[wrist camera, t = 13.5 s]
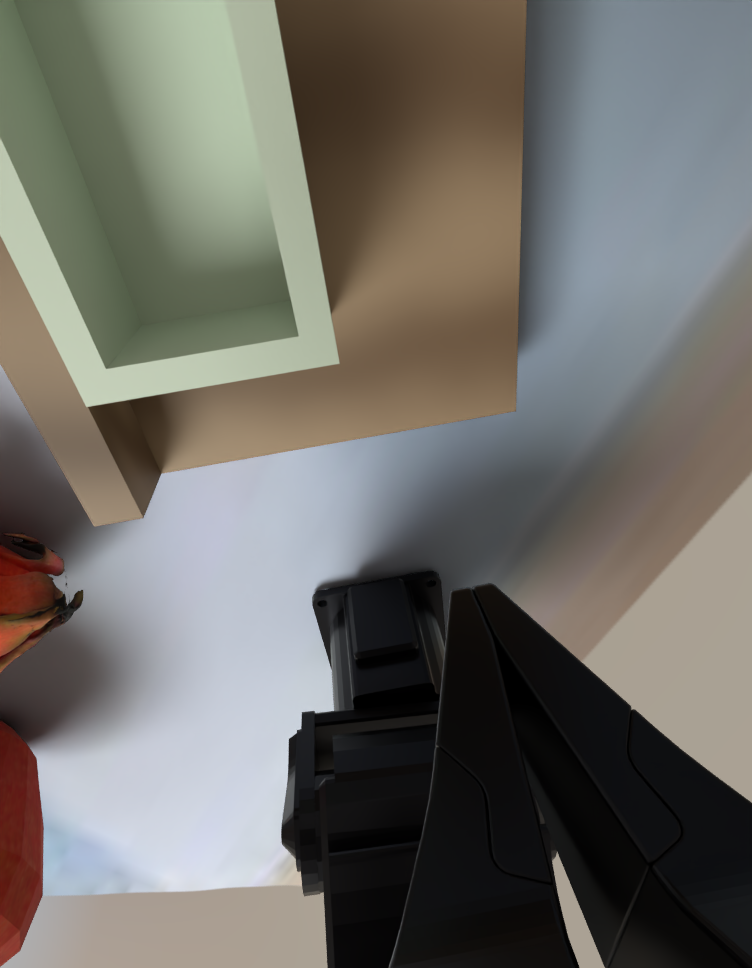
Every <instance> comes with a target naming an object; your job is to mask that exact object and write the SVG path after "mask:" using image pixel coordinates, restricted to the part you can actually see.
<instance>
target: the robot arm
mask: <svg viewBox="0 0 752 968" xmlns="http://www.w3.org/2000/svg"><path fill="white" fill-rule="evenodd" d="M430 580H433V581H430ZM428 581H430V582H428ZM320 600H325V601H320ZM312 603H313V609H314V612H315V615H316V619H317V622H318V626H319V629H320V632H321V636H322V639H323V642H324V646H325V649H326V653H327V656H328V659H329V663H330V666H331V669H332V682H333V700H334V711H330V712H321V713H315V711H310V712H302V727H301V729H300V730H297V734H295V735H294V736H293V737H291V738H290V739H289V764H288V782H287V790H286V797H285V805H284V812H283V820H282V829H281V838H282V845H283V846H284V847H285V848H286V849H287V850H288V851H289V852H290V853H291V854H292V855H293V856H294V858H295V859H296V867H297V871H298V872H300V871H301V877H302V887H303V894H304V896H309V895H316V894H320V893H322V892H324V905H325V923H326V924H325V925H326V944H327V963H328V968H579V965H578V962H577V960H576V957H575V954H574V952H573V949H572V946H571V943H570V941H569V938H568V934H567V931H566V926H565V922H564V918H563V914H562V910H561V906H560V901H559V897H558V893H557V887H556V882H555V876H554V870H553V864H552V860H553V859H554V858H555V857H556V853H557V852H558V854H559V857H560V859H561V862H562V864H563V866H564V869H565V871H566V874H567V876H568V879H569V881H570V884H571V886H572V888H573V891H574V893H575V896H576V898H577V901H578V903H579V905H580V908H581V910H582V913H583V915H584V918H585V920H586V923H587V925H588V928H589V930H590V932H591V935H592V937H593V940H594V942H595V945H596V947H597V949H598V952H599V954H600V957H601V959H602V962H603V964H604V966H605V968H752V803H751V802H750V801H749V800H747V799H746V798H745V797H743V796H742V795H741V794H739V793H738V792H737V791H735V790H734V789H733V788H731V787H730V786H729V785H727V784H726V783H724V782H723V781H722V780H720V779H719V778H718V777H716V776H715V775H714V774H712V773H711V772H710V771H708V770H707V769H706V768H705V767H703V766H702V765H701V764H699V763H698V762H697V761H696V760H694V759H693V758H692V757H690V756H689V755H688V754H686V753H685V752H684V751H682V750H681V749H680V748H679V747H678V746H677V745H675V744H674V743H673V742H672V741H671V740H669V739H668V738H667V737H666V736H664V734H662V733H661V732H660V731H659V730H658V729H656V728H655V727H654V726H653V725H652V724H651V723H649V722H648V721H647V720H646V719H645V718H644V717H643V716H642V715H641V714H640V713H638V712H637V711H636V710H634V709H633V710H631V706H630V705H629V704H628V703H627V702H626V701H625V700H623V699H622V698H621V697H620V696H619V695H618V694H617V693H616V692H615V691H613V690H612V689H611V688H610V687H609V686H608V685H607V684H606V683H604V682H603V681H602V680H601V679H600V678H599V677H598V676H596V675H595V674H594V673H593V672H592V671H591V670H590V669H589V668H588V667H586V666H585V665H584V664H583V663H582V662H581V661H580V660H579V659H577V658H576V657H575V656H574V655H573V654H572V653H571V652H570V651H568V650H567V649H566V648H565V647H564V646H563V645H562V644H561V643H559V642H558V641H557V640H556V639H555V638H554V637H553V636H551V635H550V634H549V633H548V632H547V631H546V630H545V629H544V628H542V627H541V626H540V625H539V624H538V623H537V622H536V621H535V620H533V619H532V618H531V617H530V616H529V615H528V614H527V613H526V612H524V611H523V610H522V609H521V608H520V607H519V606H518V605H517V604H515V603H514V602H513V601H512V600H511V599H510V598H509V597H508V596H506V595H505V594H504V593H503V592H502V591H501V590H500V589H499V588H497V587H496V586H495V585H494V584H491V583H488V584H482V585H477V586H474V587H473V588H472V589H471V588H469V587H466V588H461V589H456V590H452V591H451V592H450V599H449V609H448V620H447V630H446V636H445V624H444V612H443V600H442V589H441V581H440V577H439V574H438V573H437V572H435V571H426V572H421V573H415V574H410V575H404V576H399V577H393V578H388V579H382V580H377V581H371V582H366V583H360V584H355V585H349V586H344V587H339V588H333V589H328V590H322V591H318V592H316V593H315V594H314V595H313V597H312Z"/></svg>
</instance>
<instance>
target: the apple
mask: <svg viewBox="0 0 752 968" xmlns="http://www.w3.org/2000/svg"><path fill="white" fill-rule="evenodd" d="M43 830H44V827H43V818H42V809H41V800H40V791H39V781H38V770H37V760H36V757H35V755H34V754H33V752H32V751H31V749H30V748H29V746H28V745H27V744H26V743H25V742H24V741H23V740H22V739H21V737H20V736H19V735H18V734H17V733H16V732H15V731H14V730H13V729H12V728H11V727H10V726H8V725H7V724H5V723H4V722H2V721H0V966H2V965H3V964H4V963H5V962H7V961H8V960H9V959H10V958H11V957H13V956H14V955H15V954H17V953H18V952H19V951H20V950H21V947H22V945H23V942H24V940H25V937H26V935H27V932H28V930H29V927H30V925H31V922H32V920H33V918H34V915H35V913H36V910H37V908H38V905H39V903H40V900H41V898H42V895H43Z"/></svg>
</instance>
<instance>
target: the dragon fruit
mask: <svg viewBox="0 0 752 968" xmlns="http://www.w3.org/2000/svg"><path fill="white" fill-rule="evenodd" d="M2 534H4V535H5V536H10V537H13V540H12V541H11V542H12V544H14V545H16V546H19V547H22V548H24V549H27V550H30V551H33V552H36V553H39V554H42V555H43V558H42V559H39V560H28V559H26V558H24V557H22V556H20V555H18V554H17V553H15V552H13V551H11V550H10V549H9V548H7V547H4V546H1V545H0V673H1V672H2V671H3V670H4V669H5V668H6V667H7V666H8V665H9V664H10V663H11V662H12V661H13V660H14V659H16V658H17V657H20V656H21V655H22V654H23V653H24V652H26V651H27V650H28V649H30V648H32V647H33V646H35V645H36V644H37V643H38V642H39V641H40V639H41V638H43V637H44V635H45V634H46V633H48V632H51V630H53V629H54V628H56V627H58V626H60V625H62V624H65V623H66V622H67V621H68V620H69V619H70V618H71V616H72V615H73V613H74V611H76V610H77V609H78V608H79V607H80V606H81V604H82V601H83V590H81V591H78V592H77V593H76V594H75V596H74V599H73V600H72V601H71V602H70V599H69V602H70V603H69V604H68V606H67V603H66V597H65V594H63V592H62V591H60V590H59V589H58V588H57V587H56V586H55V584H54V583H53V578H52V577H49V576H48V575H47V574H51V575H54V576H58V575H61V574H62V573H63V571H64V561H63V559H61V558H60V557H58V556H57V555H55V554H54V553H53V552H54V551H53V550H51V551H50V550H49V549H48V548H47V547H46V546H45V545H43V544H40V543H39V541H38V540H37V539H35V538H33V537H28V536H25V535H24V534H22V533H21V534H15V533H8V534H7V533H2ZM14 537H15V538H20V539H22V540H23V541H22V542H18V541H14ZM56 553H57V552H56ZM65 577H66V576H65ZM66 585H67V583H66ZM67 588H68V587H67ZM69 597H70V596H69Z"/></svg>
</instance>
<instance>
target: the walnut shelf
mask: <svg viewBox="0 0 752 968" xmlns="http://www.w3.org/2000/svg"><path fill="white" fill-rule="evenodd" d="M275 4H276V9H277V15H278V20H279V26H280V32H281V37H282V43H283V48H284V54H285V59H286V65H287V70H288V76H289V82H290V87H291V93H292V98H293V104H294V109H295V115H296V121H297V126H298V132H299V137H300V143H301V148H302V154H303V160H304V165H305V171H306V176H307V182H308V187H309V193H310V199H311V204H312V210H313V215H314V221H315V226H316V232H317V238H318V243H319V249H320V254H321V260H322V265H323V271H324V277H325V282H326V288H327V293H328V299H329V304H330V310H331V316H332V322H333V327H334V333H335V339H336V345H337V351H338V357H339V363H340V364H334V365H329V366H323V367H317V368H311V369H305V370H300V371H294V372H288V373H282V374H276V375H270V376H265V377H259V378H253V379H247V380H241V381H235V382H230V383H224V384H218V385H212V386H206V387H201V388H195V389H189V390H183V391H177V392H171V393H166V394H160V395H154V396H148V397H142V398H136V399H131V400H125V401H119V402H113V403H107V404H101V405H96V406H90V407H86V405H85V403H84V401H83V399H82V397H81V395H80V393H79V391H78V389H77V387H76V385H75V383H74V381H73V379H72V377H71V375H70V373H69V371H68V369H67V367H66V365H65V363H64V361H63V359H62V357H61V355H60V353H59V351H58V349H57V347H56V345H55V343H54V341H53V339H52V337H51V335H50V333H49V331H48V329H47V327H46V325H45V323H44V321H43V319H42V317H41V315H40V313H39V311H38V310H37V308H36V306H35V304H34V302H33V300H32V298H31V296H30V294H29V292H28V290H27V288H26V286H25V284H24V282H23V280H22V278H21V276H20V274H19V272H18V270H17V268H16V266H15V264H14V262H13V260H12V258H11V256H10V254H9V252H8V250H7V248H6V246H5V244H4V242H3V240H2V238H1V236H0V364H1V366H2V368H3V369H4V371H5V373H6V375H7V376H8V378H9V380H10V382H11V383H12V385H13V387H14V389H15V390H16V392H17V394H18V395H19V397H20V399H21V401H22V402H23V404H24V406H25V408H26V409H27V411H28V413H29V415H30V416H31V418H32V420H33V421H34V423H35V425H36V427H37V428H38V430H39V432H40V434H41V435H42V437H43V439H44V441H45V442H46V444H47V446H48V447H49V449H50V451H51V453H52V454H53V456H54V458H55V460H56V461H57V463H58V465H59V467H60V468H61V470H62V472H63V473H64V475H65V477H66V479H67V480H68V482H69V484H70V486H71V487H72V489H73V491H74V493H75V494H76V496H77V498H78V499H79V501H80V503H81V505H82V506H83V508H84V510H85V512H86V513H87V515H88V517H89V519H90V520H91V522H92V524H93V525H94V527H96V526H101V525H107V524H112V523H118V522H124V521H129V520H135V519H140V518H143V517H144V515H145V513H146V510H147V508H148V505H149V503H150V500H151V498H152V495H153V493H154V490H155V488H156V485H157V483H158V480H159V478H160V475H161V474H162V473H167V472H173V471H179V470H184V469H190V468H196V467H201V466H207V465H213V464H218V463H224V462H230V461H235V460H241V459H247V458H252V457H258V456H264V455H270V454H275V453H281V452H287V451H292V450H298V449H304V448H309V447H315V446H321V445H326V444H332V443H338V442H343V441H349V440H355V439H360V438H366V437H372V436H377V435H383V434H389V433H394V432H400V431H406V430H412V429H417V428H423V427H429V426H434V425H440V424H446V423H451V422H457V421H463V420H468V419H474V418H480V417H485V416H491V415H497V414H502V413H508V412H514V411H516V388H517V350H518V312H519V274H520V236H521V198H522V160H523V122H524V84H525V46H526V8H527V0H275Z"/></svg>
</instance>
